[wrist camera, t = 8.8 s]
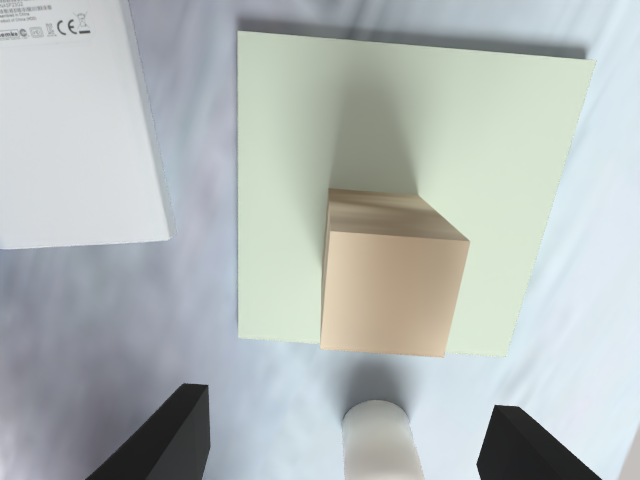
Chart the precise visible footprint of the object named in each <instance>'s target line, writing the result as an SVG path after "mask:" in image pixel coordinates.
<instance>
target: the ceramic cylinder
mask: <svg viewBox="0 0 640 480" xmlns="http://www.w3.org/2000/svg"><path fill="white" fill-rule="evenodd" d="M342 439H343V457H344V475H345V480H425V478H424V475H423V471H422V467H421V464H420V460H419V456H418V452H417V449H416V445H415V441H414V438H413V434H412V430H411V427H410V423H409V419H408V417H407V414H406V413H405V411H404V410H403V409H402V408H400V407H399V406H398V405H396V404H394V403H392V402H388V401H384V400H369V401H365V402H362V403H359V404H357V405H356V406H354V407H353V408H351V409H350V410H349V411H348V412H347V413H346V415H345V416H344V418H343V421H342Z"/></svg>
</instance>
